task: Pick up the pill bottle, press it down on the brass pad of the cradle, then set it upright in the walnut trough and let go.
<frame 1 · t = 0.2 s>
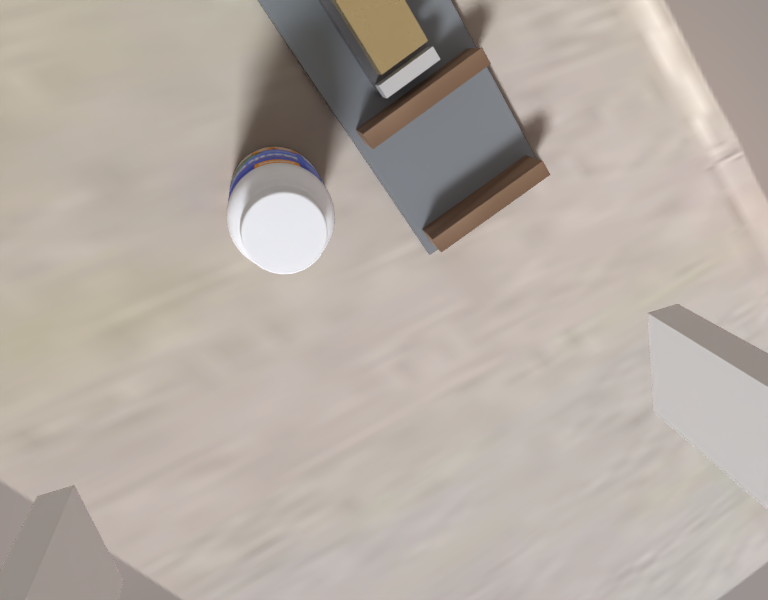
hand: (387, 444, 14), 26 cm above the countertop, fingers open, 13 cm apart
mat: (374, 31, 35), on the countertop
pill bottle: (275, 191, 38), on the countertop
cradle base: (371, 22, 35), resting on mat
trough: (447, 149, 38), resting on mat
pad: (379, 20, 32), point 3 cm above the countertop, slide at 0.0 cm
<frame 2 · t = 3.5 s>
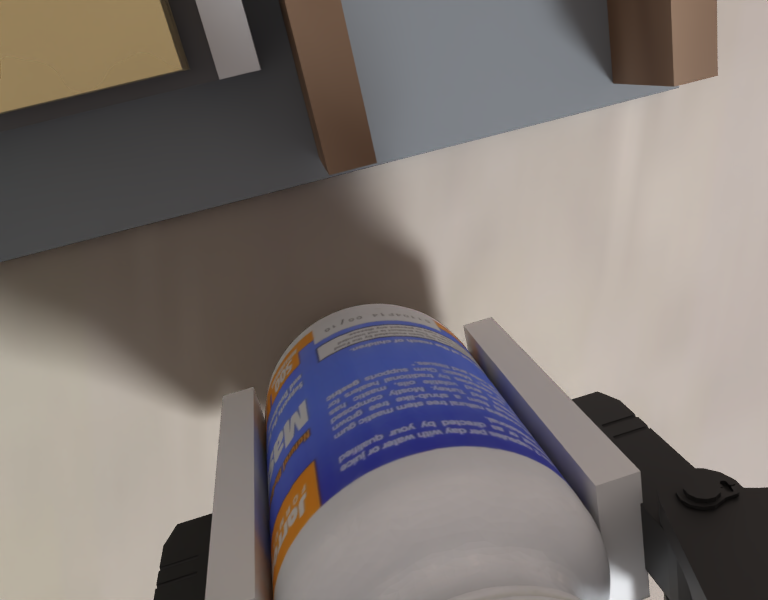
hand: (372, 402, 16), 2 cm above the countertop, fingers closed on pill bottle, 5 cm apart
mat: (100, 14, 13), on the countertop
pill bottle: (370, 392, 16), point 1 cm above the countertop, touching gripper
cradle base: (71, 18, 13), resting on mat
pad: (29, 8, 11), point 3 cm above the countertop, slide at 0.0 cm
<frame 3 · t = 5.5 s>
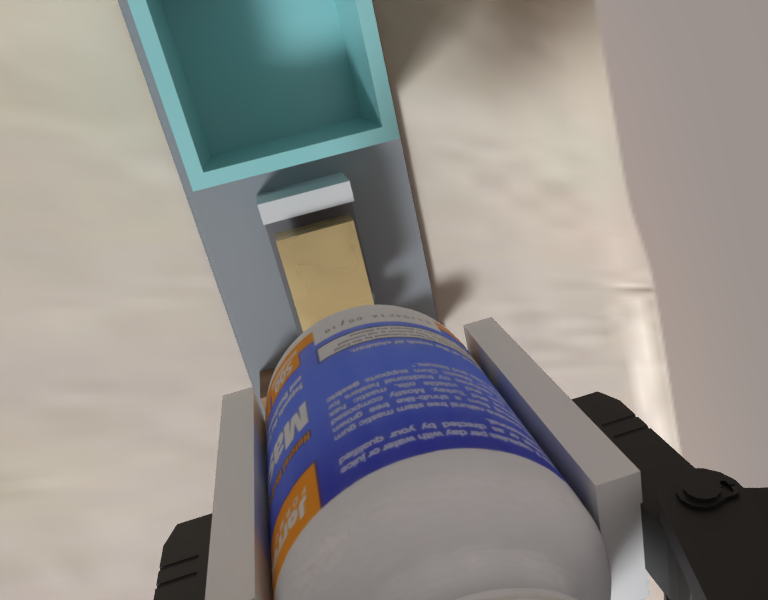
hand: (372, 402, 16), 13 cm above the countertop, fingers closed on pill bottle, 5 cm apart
teal open box: (264, 55, 24), resting on mat
mat: (323, 269, 27), on the countertop
pill bottle: (370, 393, 16), point 12 cm above the countertop, touching gripper
cradle base: (321, 261, 27), resting on mat
trough: (365, 423, 30), resting on mat
pad: (327, 279, 25), point 3 cm above the countertop, slide at 0.0 cm
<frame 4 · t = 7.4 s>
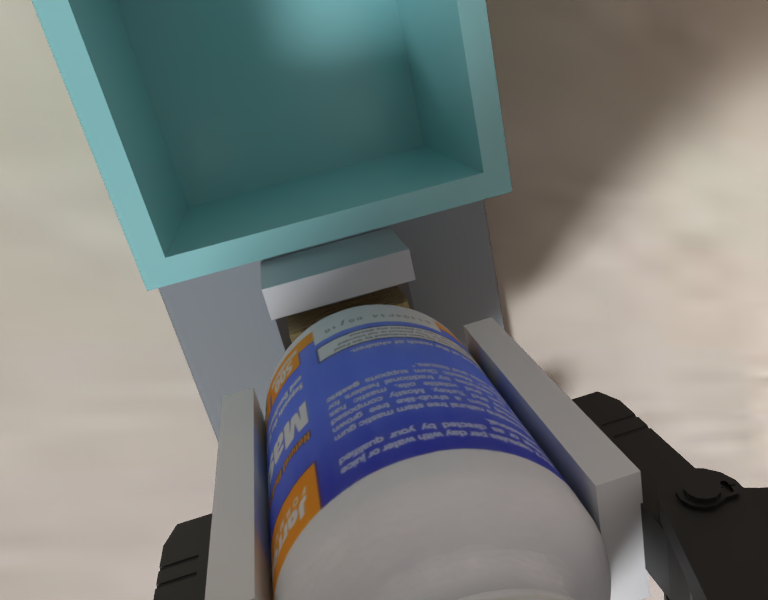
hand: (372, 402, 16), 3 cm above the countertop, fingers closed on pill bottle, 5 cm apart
teal open box: (273, 48, 15), resting on mat
mat: (358, 366, 19), on the countertop
pill bottle: (370, 393, 16), point 2 cm above the countertop, touching cradle base, gripper, pad
cradle base: (356, 357, 18), resting on mat
pad: (365, 383, 17), point 2 cm above the countertop, slide at -0.9 cm, touching cradle base, pill bottle
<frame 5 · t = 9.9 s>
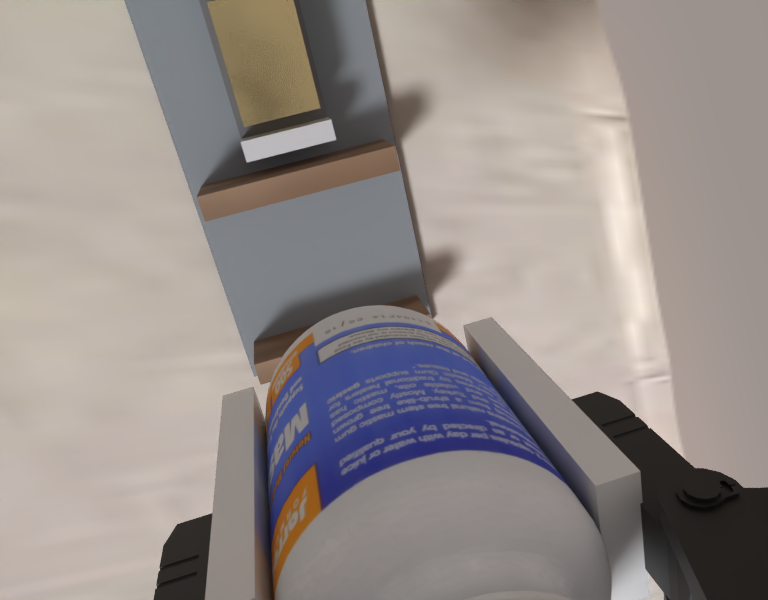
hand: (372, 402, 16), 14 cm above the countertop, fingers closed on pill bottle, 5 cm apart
mat: (268, 71, 26), on the countertop
pill bottle: (370, 394, 16), point 14 cm above the countertop, touching gripper
cradle base: (264, 58, 25), resting on mat
trough: (318, 254, 28), resting on mat
pad: (265, 57, 24), point 2 cm above the countertop, slide at -0.9 cm, touching cradle base
when the fingers open (2 cm above the countertop, at t = 12.3 s): pill bottle stays where it is, resting on mat.
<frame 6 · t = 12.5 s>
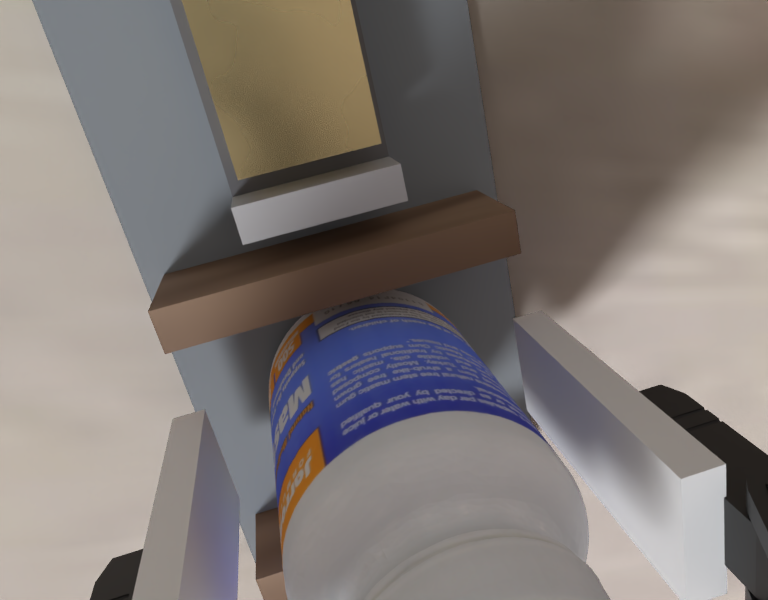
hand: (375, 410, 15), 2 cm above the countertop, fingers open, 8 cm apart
mat: (281, 73, 14), on the countertop
pill bottle: (367, 373, 17), resting on mat
cradle base: (276, 50, 14), resting on mat
trough: (363, 377, 17), resting on mat
pad: (279, 48, 12), point 2 cm above the countertop, slide at -0.9 cm, touching cradle base
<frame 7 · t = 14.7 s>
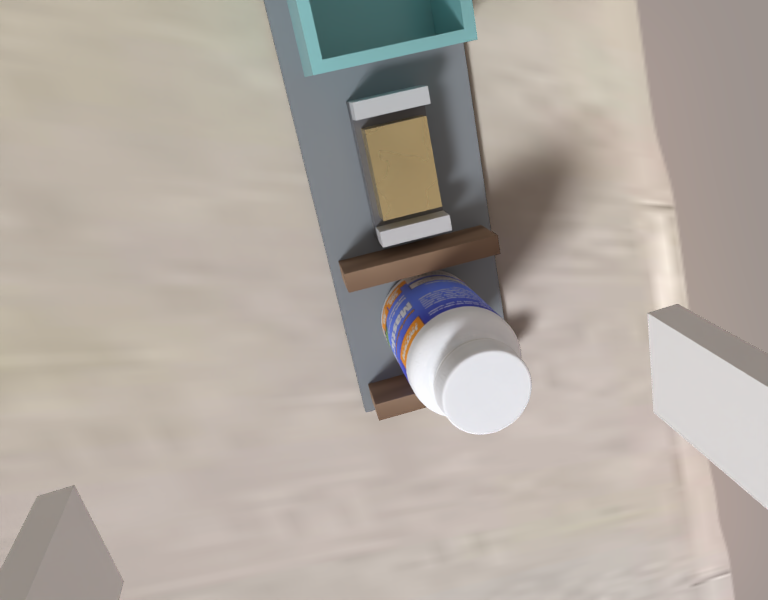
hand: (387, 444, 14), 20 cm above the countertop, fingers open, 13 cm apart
mat: (395, 172, 32), on the countertop
pill bottle: (426, 312, 35), resting on mat
cradle base: (395, 164, 32), resting on mat
trough: (424, 314, 35), resting on mat
pad: (401, 168, 30), point 2 cm above the countertop, slide at -0.9 cm, touching cradle base
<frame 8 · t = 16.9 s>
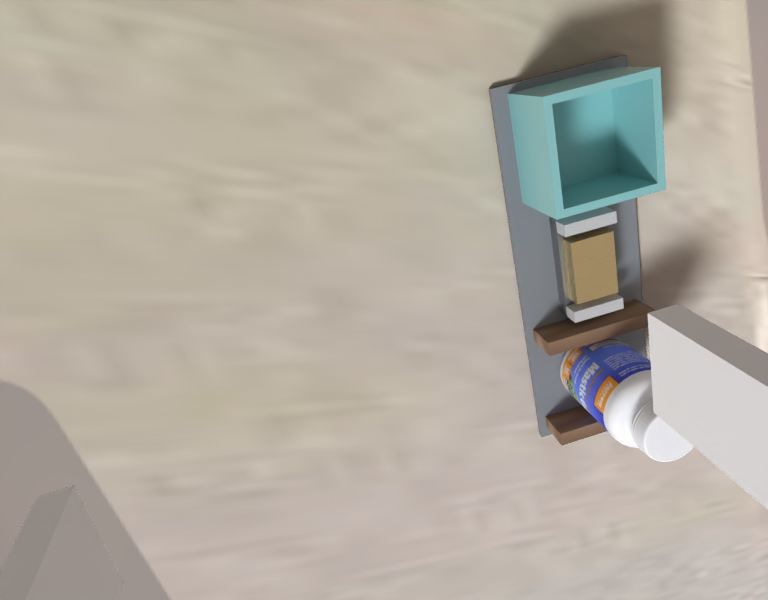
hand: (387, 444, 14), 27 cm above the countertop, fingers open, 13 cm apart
teal open box: (566, 136, 40), resting on mat
mat: (577, 264, 44), on the countertop
pill bottle: (590, 362, 47), resting on mat
cradle base: (579, 259, 43), resting on mat
trough: (590, 364, 46), resting on mat
pad: (590, 265, 42), point 2 cm above the countertop, slide at -0.9 cm, touching cradle base
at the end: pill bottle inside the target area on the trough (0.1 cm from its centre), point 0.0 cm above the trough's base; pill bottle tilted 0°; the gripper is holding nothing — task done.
